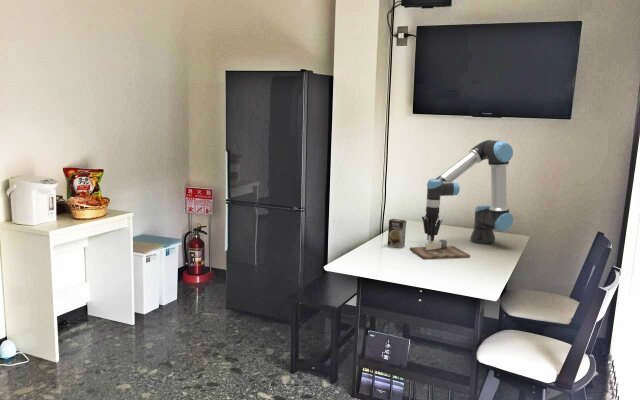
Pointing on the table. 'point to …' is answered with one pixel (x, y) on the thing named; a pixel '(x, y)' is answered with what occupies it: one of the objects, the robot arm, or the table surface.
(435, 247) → the grey-tipped match
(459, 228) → the table surface
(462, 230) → the table surface
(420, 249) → the dial board
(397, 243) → the coffee box
